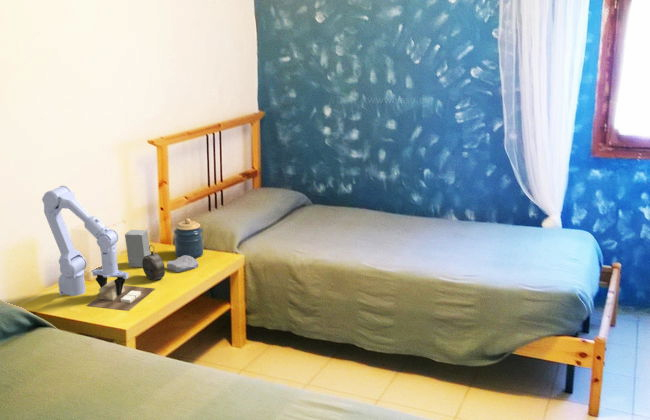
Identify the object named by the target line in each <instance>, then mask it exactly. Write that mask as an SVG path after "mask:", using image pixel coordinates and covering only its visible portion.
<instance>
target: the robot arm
mask: <svg viewBox="0 0 650 420" xmlns="http://www.w3.org/2000/svg"><path fill="white" fill-rule="evenodd" d="M41 201H42V203H43V212H44V215H45V218H46V220H47V223H48V225H49V227H50V231H51V233H52V235H53V238H54V240H55V242H56V245H57V248H58V250H59V252H60V257H59V260H58V263H59V271H60V275H59V277H58V290H59V291H58V292H59V297H61V296H62V295H66V296H72V297H75V296H81V295H83V294H86V291H87V290H86V283H85V279H86V278H85V269H86V268H87V265H88V263H87V260H86V258H85V257H84V256H83V255H82V252H81V251H80V250H78V249H76V248H75V245H74V243H73V241H72V238H71V236H70V233H69V230H68V228H67V225H66V224H65V223H66V222H65V220H64V217H63V216H62V213H61V211H62V210H63V209H66V210H67V209H68V210H70V212H72V213H73V214H74V215H75V216H76V217H77V218H79V219H80V220H81V221H82V222H83V223H84V225H83V226H84V228H85V229H86V230H87V231H88V232H89V233H90V234H91V235H92V236H93V237H94V238H95V239H96V244H97V246H98V248H99V250H100V256H101V257H100V258H101V266H102V267H101V268H102V269H94V270H92V276H93V277H95V276H96V278H95V281H96V282H97V284H98V285H99V287H100V288H101V287H103V286H104V285H105V284H107V283H108V278H114V280H113V281H114V282H115V285H116V289H117V296H119V295H121V294H122V288H123V284H124V285H125V282H126V280H127V279H129V277H130V275H129V274H130V273H129V272H126V271H122V270H119V266H118V253H117V242H118V241H119V235H118V233H117V231H116V230H114V229H112V228H109V227H106V225H105V224H104V223H103V222H102V221H101V219H100V218H99V217H97V216H91V214H90V213H89V212H88V211H87V209H85V207H84V206H83V205H82V204H81V203H80V202H79V201H78V199H77V198H76V196H75V193H74V192H73V191H72V190H71V189H70V188H69V187H68V186H66V185H60V186H58V187H56V188H54V189H51V190H49V191H46V192H45V193H44V195H43V196H42V198H41Z"/></svg>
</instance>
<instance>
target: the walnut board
mask: <svg viewBox="0 0 650 420" xmlns="http://www.w3.org/2000/svg"><path fill="white" fill-rule="evenodd" d="M124 290H125V292H124V293H123V294H122V295H121V296H119V297H118V298H117V299H115V300H114V301H106V300H100V295H99V296H98V297H96V298H95V299H93V300H92V301H90V302H88V303H87V305H85V307H92V308H99V309H108V310H118V311H127V312H129V311H131V309H134V307H136V306H137V305H138V304H139V303H140V302H142V301H143V300H144V299H145V298H146V297H148V296H149V295H150V294H151V293H152V292H153V291H155V290H156V288H153V287H146V286H145V287H144V286H135V285H127V284H126V285H125V284H124ZM130 291H141V295H140V296H138V297H137V298H135V300H133V301H132V302H131V303H126V302H121V298H123V297H124V296H125V295H127V294H128V293H129V292H130Z"/></svg>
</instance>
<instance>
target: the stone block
mask: <svg viewBox="0 0 650 420" xmlns="http://www.w3.org/2000/svg"><path fill="white" fill-rule="evenodd" d="M198 267H199V262H198V259H197V258H193V257H191V256H187V255H184V256H181V257H179V258H178V257H176V259H173V260H169V261H167V263H166V268H167V270H168V271H172V272H175V273H176V274H177V273H182V272H183V273H184V272H187V271H192V270H195V269H197V268H198Z"/></svg>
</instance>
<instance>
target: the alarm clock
mask: <svg viewBox="0 0 650 420" xmlns="http://www.w3.org/2000/svg"><path fill="white" fill-rule="evenodd" d="M151 247H152V249H153V250H151V249H150V248H151ZM149 250H150V255H147V256H145V257H144V258H143V261H142V266H143V267H142V270H143V272H144V275H145V276H146V278H148V279H149V280H151V281H157V280H159V281H161V280H162V279H163V277H164V276H165V275H166V274H165V273H166V267H165V263H164V261H163V259H162V257H161V256H160V255H159V254H158V253H155V247H154V245H152V244H149Z"/></svg>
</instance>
